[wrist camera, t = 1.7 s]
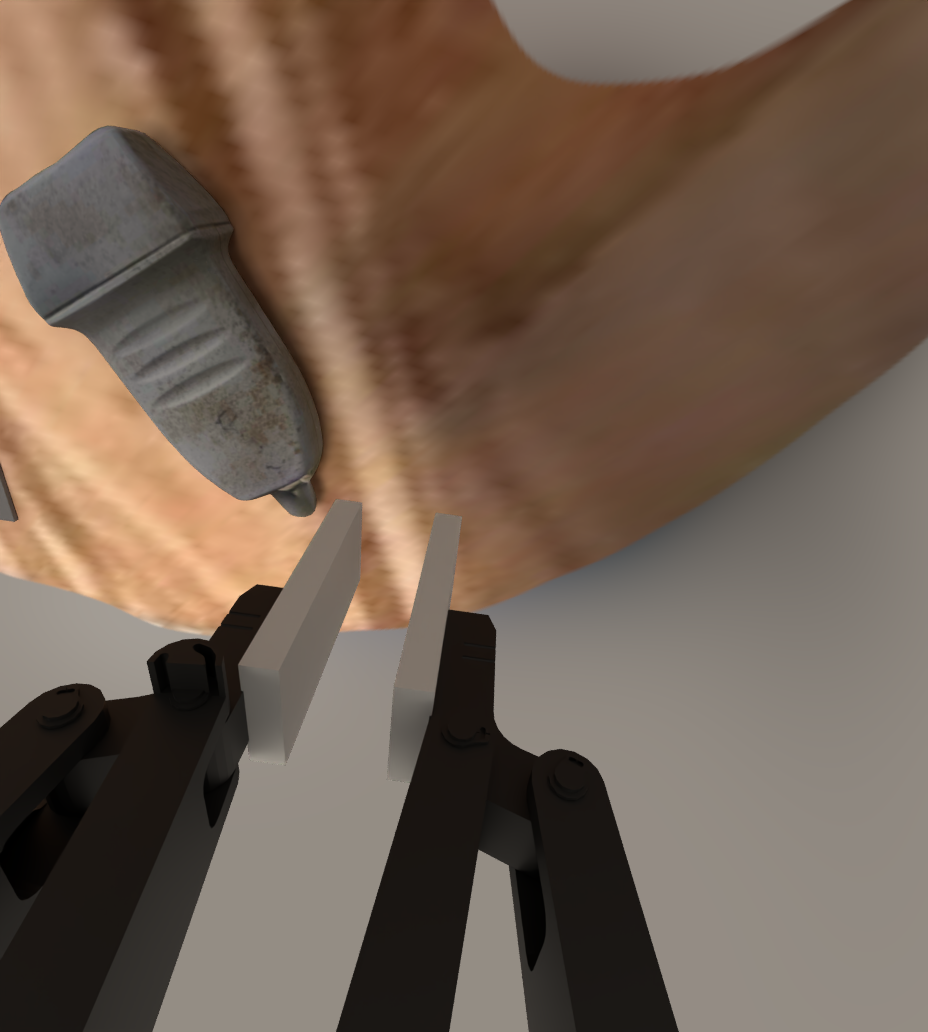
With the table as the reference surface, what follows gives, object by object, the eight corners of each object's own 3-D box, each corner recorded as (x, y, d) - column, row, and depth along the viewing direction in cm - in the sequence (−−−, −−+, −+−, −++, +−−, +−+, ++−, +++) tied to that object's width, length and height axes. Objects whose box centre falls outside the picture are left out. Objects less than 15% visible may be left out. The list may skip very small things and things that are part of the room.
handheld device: (258, 527, 37) (226, 567, 33) (30, 215, 28) (-50, 217, 24) (383, 474, 34) (366, 511, 30) (173, 114, 26) (109, 97, 22)
